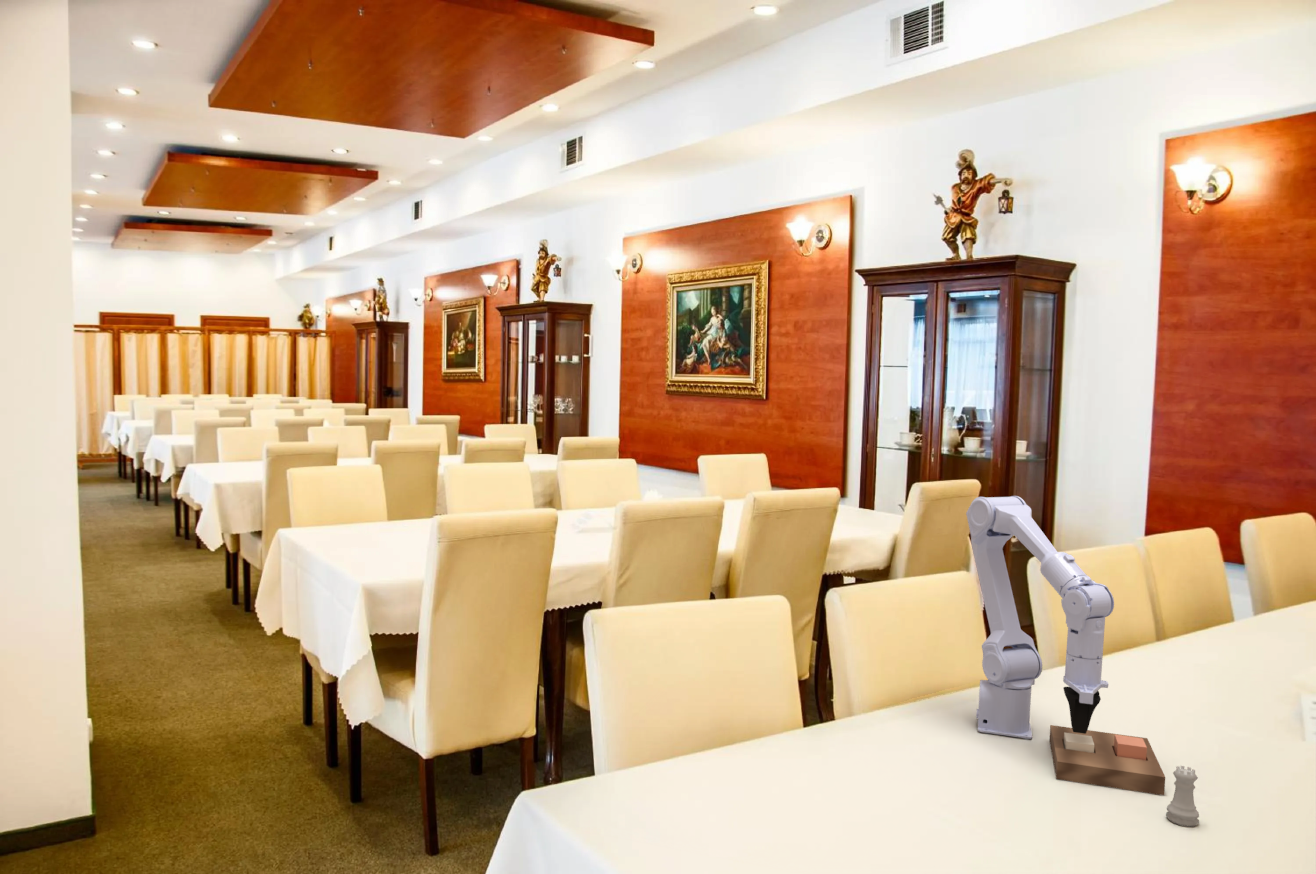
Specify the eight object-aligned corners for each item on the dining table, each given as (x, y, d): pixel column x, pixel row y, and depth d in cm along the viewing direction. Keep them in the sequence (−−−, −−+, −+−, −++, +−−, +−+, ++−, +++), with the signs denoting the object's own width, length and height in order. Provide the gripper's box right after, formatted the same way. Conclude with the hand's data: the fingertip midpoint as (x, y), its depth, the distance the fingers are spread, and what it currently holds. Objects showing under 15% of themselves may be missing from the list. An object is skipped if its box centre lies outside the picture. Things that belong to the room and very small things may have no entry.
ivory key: (1065, 761, 165) (1066, 741, 164) (1063, 751, 169) (1064, 732, 168) (1093, 765, 163) (1094, 745, 163) (1090, 755, 167) (1091, 736, 167)
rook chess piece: (1195, 817, 146) (1199, 766, 146) (1201, 830, 142) (1205, 777, 141) (1163, 812, 148) (1166, 761, 147) (1168, 824, 143) (1171, 772, 143)
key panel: (1056, 779, 159) (1057, 761, 159) (1049, 741, 176) (1050, 724, 176) (1164, 795, 154) (1165, 777, 153) (1146, 754, 171) (1147, 738, 170)
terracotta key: (1116, 763, 162) (1118, 743, 162) (1113, 754, 166) (1114, 734, 166) (1145, 768, 161) (1146, 747, 160) (1141, 758, 165) (1142, 738, 164)
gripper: (1115, 669, 157) (1109, 750, 158) (1104, 646, 170) (1099, 721, 171) (1068, 663, 159) (1063, 743, 160) (1061, 641, 173) (1057, 715, 174)
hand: (1079, 731), depth 166 cm, fingers closed
